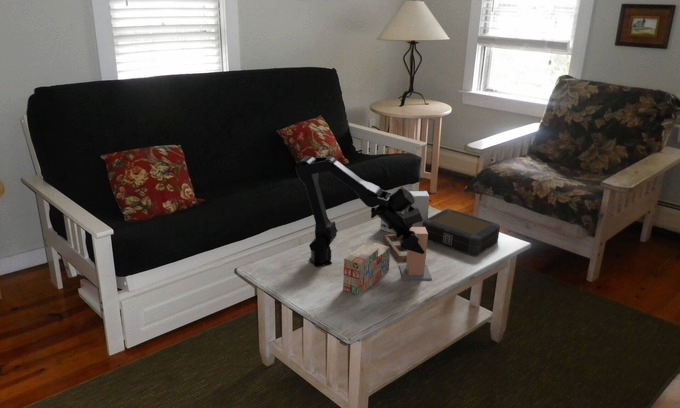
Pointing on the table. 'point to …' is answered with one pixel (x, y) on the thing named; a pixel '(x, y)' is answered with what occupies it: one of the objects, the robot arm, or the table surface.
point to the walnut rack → (394, 246)
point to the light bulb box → (385, 226)
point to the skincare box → (421, 205)
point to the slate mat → (415, 277)
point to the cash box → (461, 231)
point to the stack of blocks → (365, 267)
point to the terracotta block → (415, 259)
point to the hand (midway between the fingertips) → (421, 247)
